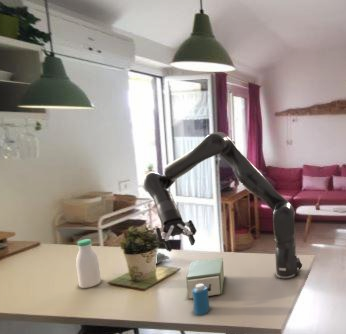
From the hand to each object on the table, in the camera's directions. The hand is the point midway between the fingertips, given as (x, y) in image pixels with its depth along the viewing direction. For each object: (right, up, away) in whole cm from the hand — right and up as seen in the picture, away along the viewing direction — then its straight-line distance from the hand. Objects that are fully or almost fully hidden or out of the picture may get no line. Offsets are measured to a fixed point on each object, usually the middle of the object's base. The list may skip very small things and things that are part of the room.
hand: (182, 247), depth 131 cm
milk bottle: (-48, -20, +16) cm, 54 cm away
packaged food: (-31, -16, +37) cm, 50 cm away
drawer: (+6, -20, +7) cm, 22 cm away
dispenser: (+5, -20, +12) cm, 24 cm away
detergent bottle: (+10, -23, -6) cm, 25 cm away
